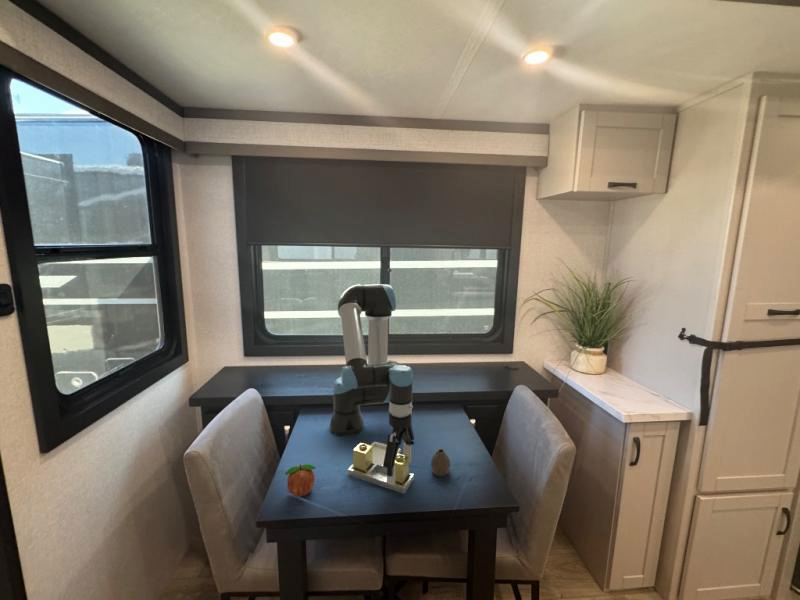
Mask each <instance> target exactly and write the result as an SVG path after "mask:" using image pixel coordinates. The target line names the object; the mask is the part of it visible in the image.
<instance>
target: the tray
mask: <svg viewBox="0 0 800 600" xmlns="http://www.w3.org/2000/svg"><path fill="white" fill-rule="evenodd" d="M369 445H370V446H373V456H372V461H373V462H376V463H380V464H383V463H384V458H385V453H386V447H387V444H386V443H382V442H377V441H373V442H371V444H369ZM397 453H398V454H401V453H402V449H401V448H400V447H399V448H398V452H397Z"/></svg>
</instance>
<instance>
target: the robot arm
mask: <svg viewBox="0 0 800 600" xmlns="http://www.w3.org/2000/svg"><path fill="white" fill-rule="evenodd" d="M396 307H397V300H396V295H395V291H394V289H393V287H392V286H391V285H390V284H386V283H385V284H382V283H374V284H355V285H354V284H353V285H351V286H350V287H348V288H347V289H346V290H344V291H343V293H342V295H341V296H340V298H339V299H338V303H337V313H338V317H340V319H341V328H342V329H341V330H342V339H343V348H344V349H343V350H344V358H345V366H342V367H341V369H340V370H341V371H340V372H341V374H340V376H339V377H338V378H337V379H336V380H334V382H333V390H332V394H333V413H332V415H331V419H330V423H329V431H330V432H331V433H332V434H334V435H336V436H340V437H344V436H353V435H357V434H359V433H361V432H362V431H363V430H364V427H365V425H364V424H365V421H364V419H363V416H362V415H363V414H362V412H361V406H367V405H380V404H381V405H383V404H386V403H388V404H389V405H388V413H389V414H388V423H389V425H390V426H391V427H392V432H391V434H388V435H387V442H386V445H387V447H386V453H385V458H384V463H383V467H386V468H387V483H388V484H391V485H395V465H394V464H395V460H396V456H397V452H398V448H400V446H401V445H402V443H403V446H402V447H403V449H402V450H403V452H402V453H403V454H402V455H405V456H408V457H409V464H411V462H412V446H414V445H415V441H414V440H415V434H414V429H413V424H412V423H413V422H412V421H413V420H412V418H413V415H412V410H413V408H414V406H413V381H414V375H413V369H412V368H411V367H410V366H408V365H406V364H400V363H398V361H396V360H393V359H390V360H389V359H388V347H389V345H388V344H389V343H388V342H389V338H388V336H389V319H390V318H391V317H392V312H394V311H396ZM362 312H364V316H365V318H367V319H368V329H367V330H368V333H367V335H368V339H367V340H368V342H367V343H368V344H367V345H368V346H367V347H368V348H367V349H368V350H367V351H368V354H367V353H366V345H365V340H364V333H363V327H362V320H361V315H362ZM367 355H368V357H367ZM403 441H404V442H403Z"/></svg>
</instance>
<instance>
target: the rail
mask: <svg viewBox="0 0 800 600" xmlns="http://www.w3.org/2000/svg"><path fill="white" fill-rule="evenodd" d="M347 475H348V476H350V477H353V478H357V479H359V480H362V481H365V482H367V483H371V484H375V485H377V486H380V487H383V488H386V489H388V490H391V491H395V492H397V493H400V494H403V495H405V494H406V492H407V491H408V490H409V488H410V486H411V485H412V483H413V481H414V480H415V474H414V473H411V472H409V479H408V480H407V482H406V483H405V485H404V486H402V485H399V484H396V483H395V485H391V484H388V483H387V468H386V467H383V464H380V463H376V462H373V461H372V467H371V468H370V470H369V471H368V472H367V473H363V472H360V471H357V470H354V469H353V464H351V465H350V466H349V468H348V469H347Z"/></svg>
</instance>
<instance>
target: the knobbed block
mask: <svg viewBox="0 0 800 600" xmlns="http://www.w3.org/2000/svg"><path fill="white" fill-rule="evenodd" d="M394 465H395V483H396V484H399V485H402V486H404V485H405V483H406V482H407V480H408V479H409V473H410V463H409V457H408V456H405V455H403V454H401V453H400V454H398V453H397V456H396V460H395V464H394Z"/></svg>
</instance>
